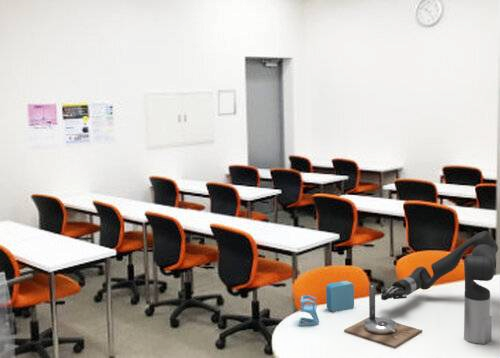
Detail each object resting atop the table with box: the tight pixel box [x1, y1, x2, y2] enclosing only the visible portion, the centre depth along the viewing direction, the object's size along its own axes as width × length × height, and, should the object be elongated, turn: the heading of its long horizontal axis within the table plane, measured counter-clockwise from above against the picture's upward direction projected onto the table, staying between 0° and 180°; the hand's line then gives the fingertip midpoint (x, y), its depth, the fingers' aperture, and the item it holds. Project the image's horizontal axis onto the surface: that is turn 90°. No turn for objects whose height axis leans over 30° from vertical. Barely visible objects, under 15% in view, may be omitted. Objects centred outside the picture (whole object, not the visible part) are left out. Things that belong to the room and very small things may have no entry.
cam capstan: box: [364, 284, 398, 334], centre depth 237 cm, size 17×13×16 cm
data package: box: [325, 280, 355, 313], centre depth 264 cm, size 12×4×12 cm, turn 112°
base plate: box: [343, 316, 423, 349], centre depth 238 cm, size 24×20×1 cm
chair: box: [298, 294, 320, 327], centre depth 249 cm, size 8×8×12 cm
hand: (382, 297), depth 249 cm, fingers closed
